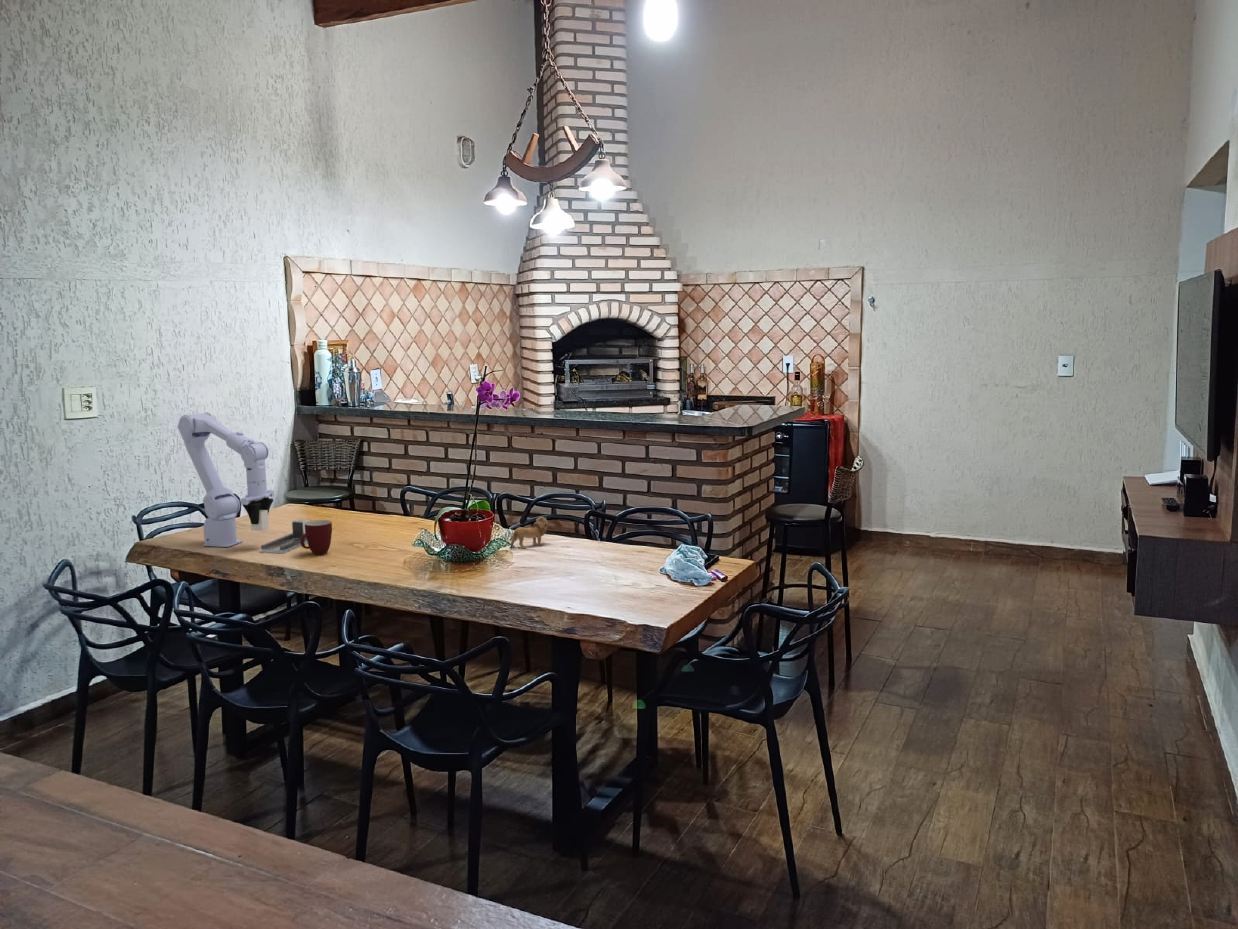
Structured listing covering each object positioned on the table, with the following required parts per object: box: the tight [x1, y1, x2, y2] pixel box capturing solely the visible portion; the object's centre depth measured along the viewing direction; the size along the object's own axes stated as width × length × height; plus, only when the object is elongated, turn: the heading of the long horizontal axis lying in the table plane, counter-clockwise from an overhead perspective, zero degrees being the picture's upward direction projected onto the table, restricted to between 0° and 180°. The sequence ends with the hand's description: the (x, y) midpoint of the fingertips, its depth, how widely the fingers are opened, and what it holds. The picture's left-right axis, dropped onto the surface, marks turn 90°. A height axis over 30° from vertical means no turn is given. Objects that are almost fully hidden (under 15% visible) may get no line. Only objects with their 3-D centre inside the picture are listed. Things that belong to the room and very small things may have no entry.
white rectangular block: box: [249, 510, 270, 532], centre depth 283 cm, size 4×4×6 cm
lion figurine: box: [509, 516, 549, 550], centre depth 286 cm, size 15×5×9 cm, turn 131°
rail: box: [260, 518, 310, 554], centre depth 288 cm, size 8×19×7 cm, turn 168°
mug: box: [300, 519, 333, 556], centre depth 276 cm, size 10×8×10 cm
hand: (259, 522), depth 283 cm, fingers closed on white rectangular block, 4 cm apart
